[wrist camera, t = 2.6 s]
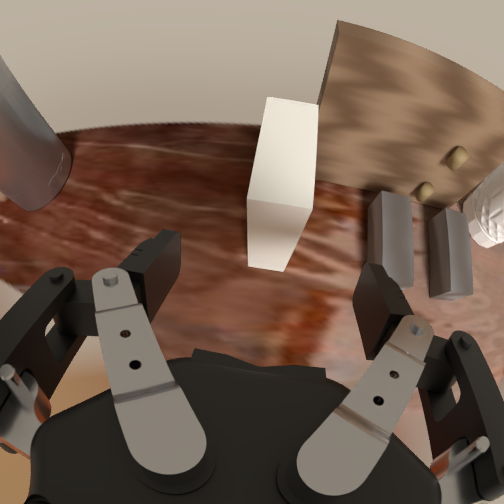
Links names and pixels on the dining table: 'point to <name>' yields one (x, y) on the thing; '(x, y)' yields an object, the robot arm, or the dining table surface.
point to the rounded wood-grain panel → (408, 147)
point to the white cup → (487, 210)
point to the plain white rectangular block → (281, 182)
